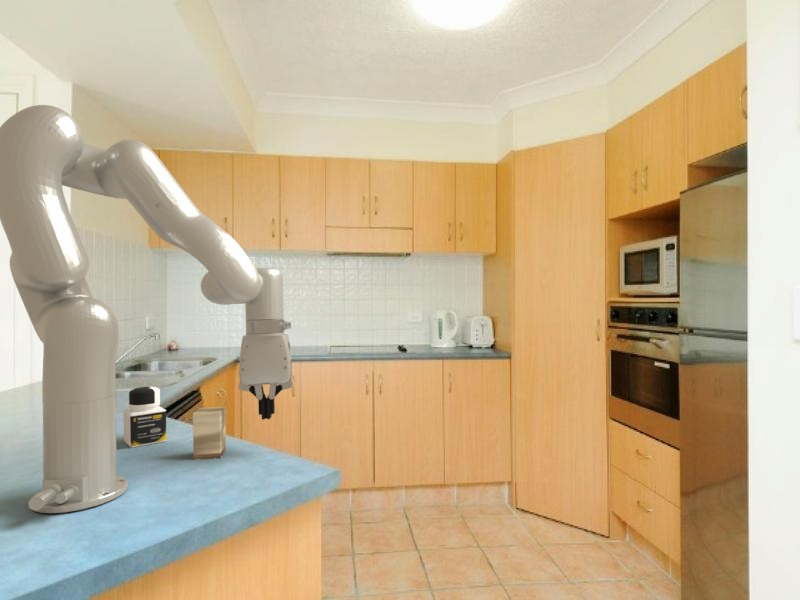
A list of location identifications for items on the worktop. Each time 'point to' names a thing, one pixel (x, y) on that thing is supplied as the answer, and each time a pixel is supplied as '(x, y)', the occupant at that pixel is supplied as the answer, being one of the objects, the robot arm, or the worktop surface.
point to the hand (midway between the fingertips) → (266, 417)
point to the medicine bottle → (144, 418)
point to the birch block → (209, 433)
